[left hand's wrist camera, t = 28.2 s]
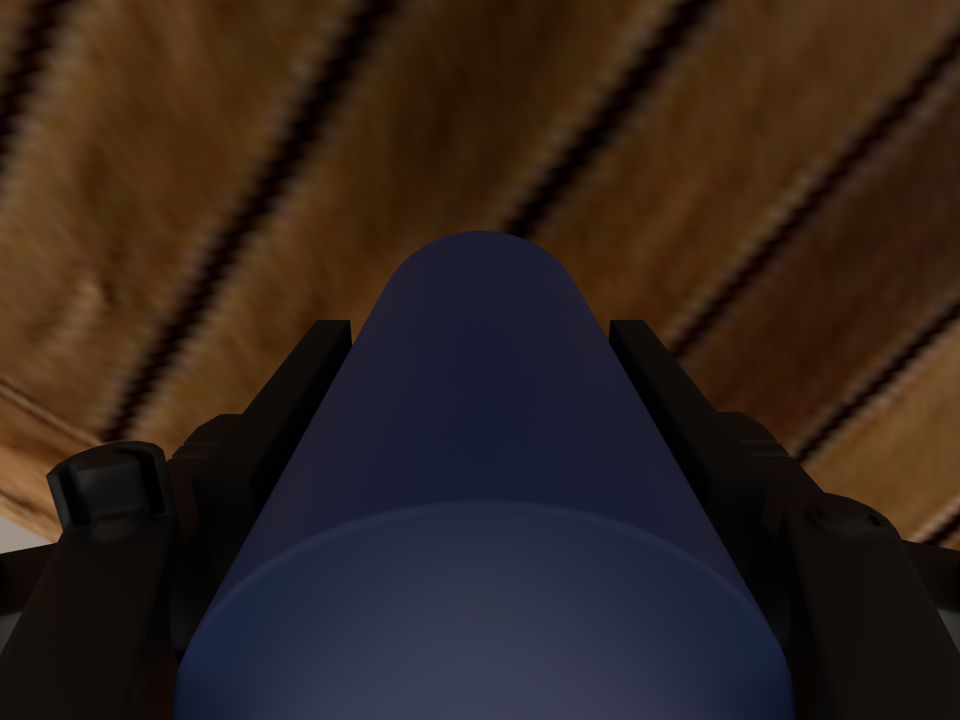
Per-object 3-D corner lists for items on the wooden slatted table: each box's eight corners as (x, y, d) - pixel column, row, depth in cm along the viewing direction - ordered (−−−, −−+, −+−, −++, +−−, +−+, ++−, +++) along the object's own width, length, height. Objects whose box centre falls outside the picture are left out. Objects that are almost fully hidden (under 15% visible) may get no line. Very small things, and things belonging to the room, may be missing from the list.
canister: (597, 231, 16) (872, 507, 5) (579, 433, 18) (739, 943, 7) (368, 228, 16) (103, 499, 5) (379, 431, 18) (218, 940, 7)
